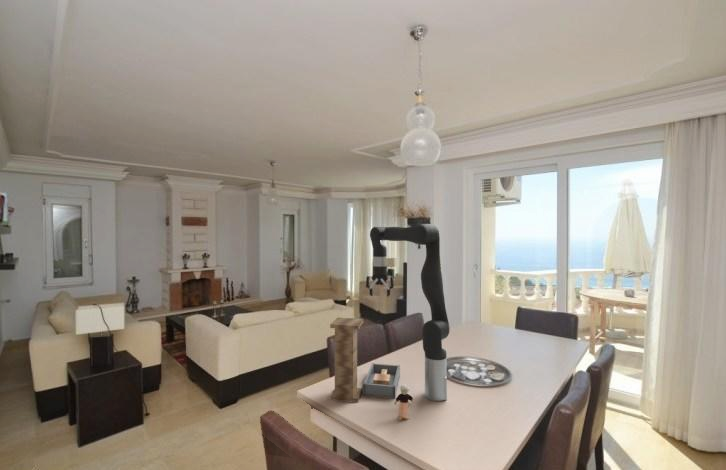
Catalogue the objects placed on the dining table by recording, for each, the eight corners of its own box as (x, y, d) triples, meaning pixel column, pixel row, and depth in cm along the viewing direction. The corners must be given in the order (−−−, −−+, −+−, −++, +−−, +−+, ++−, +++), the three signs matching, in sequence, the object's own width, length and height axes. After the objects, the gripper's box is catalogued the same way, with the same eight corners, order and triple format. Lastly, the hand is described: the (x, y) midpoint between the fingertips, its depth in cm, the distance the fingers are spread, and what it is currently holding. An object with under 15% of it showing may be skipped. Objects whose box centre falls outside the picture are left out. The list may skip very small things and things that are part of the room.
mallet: (391, 374, 166) (391, 366, 166) (388, 390, 149) (388, 381, 149) (377, 373, 167) (377, 365, 167) (373, 388, 150) (373, 379, 150)
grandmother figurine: (396, 422, 126) (396, 388, 126) (393, 416, 129) (393, 383, 129) (415, 419, 128) (415, 385, 128) (411, 413, 131) (411, 381, 131)
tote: (399, 375, 167) (399, 365, 167) (395, 398, 144) (395, 386, 144) (372, 373, 170) (372, 363, 170) (363, 395, 146) (363, 383, 146)
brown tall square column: (363, 389, 152) (363, 318, 152) (357, 402, 140) (357, 325, 140) (337, 387, 154) (337, 317, 154) (330, 399, 143) (330, 324, 143)
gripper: (394, 264, 177) (394, 295, 177) (367, 264, 180) (367, 294, 180) (392, 266, 170) (392, 298, 170) (365, 265, 172) (365, 297, 172)
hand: (379, 296), depth 175 cm, fingers open, 8 cm apart
